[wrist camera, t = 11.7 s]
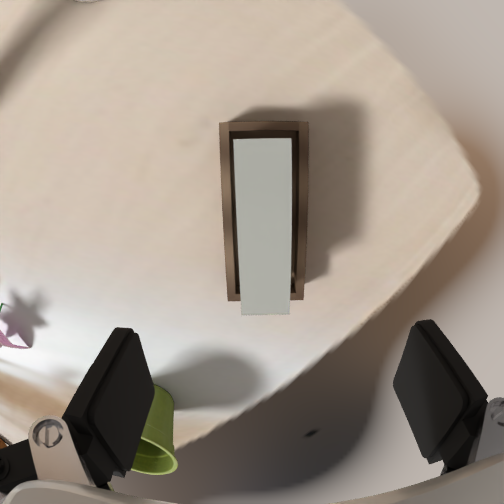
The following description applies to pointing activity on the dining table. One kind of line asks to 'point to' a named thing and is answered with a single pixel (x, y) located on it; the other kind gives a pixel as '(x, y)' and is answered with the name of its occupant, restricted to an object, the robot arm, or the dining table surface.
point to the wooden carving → (2, 444)
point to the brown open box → (299, 196)
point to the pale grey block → (264, 223)
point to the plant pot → (157, 438)
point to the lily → (3, 340)
